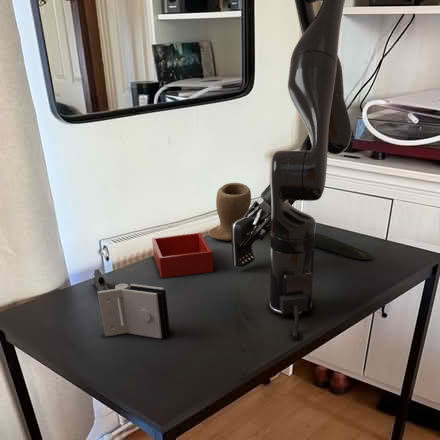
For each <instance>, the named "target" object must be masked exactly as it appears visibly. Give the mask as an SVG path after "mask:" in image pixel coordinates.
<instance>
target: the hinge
mask: <svg viewBox="0 0 440 440" xmlns="http://www.w3.org/2000/svg"><path fill="white" fill-rule="evenodd" d="M114 287H115V288H113V289H109V290H105V291H97V298H98V303H99V308H100V314H101V315H100V316H101V319H102V326H103V331H104V332H103V333H104V337H111V336H118V335H122V334H129V335H130V334H131V335H137V336H143V337H148V338H155V339H160V340H161V339H162V338H163V339H164V338H165V339H166V338H168V336H169V335H171V329H170V319H169V310H168V300H167V299H168V298H167V290H166V289H165V288H164V287H161V286H151V285H144V284H137V283H131V284H127V283H118V284H116V285H115V286H114ZM107 298H109V299H110V301H109V302H107V301H106V299H107ZM111 326H113V327H111Z"/></svg>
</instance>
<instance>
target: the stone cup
mask: <svg viewBox="0 0 440 440" xmlns="http://www.w3.org/2000/svg"><path fill="white" fill-rule="evenodd" d="M251 203H252V192H251V189H250V187H249V186H248V185H246V184H244V183H241V182H228V183H225V184H223V185H222V186H221V187H219V188H218V190H217V191H216V200H215V204H216V205H215V206H216V207H215V208H216V213H217V216H218V219H219V225H217V226H216V227H213V228H212V229H210V230H209V231H208V235H209V236H210V237H211V238H213V239H215V240H220V241H226V242H227V241H232V239H231V227H232V224H233V222H235V221H237V220H238V219H241V218H242V217H243V216H244V215H245V213H246V212H247V211H248V210H249V208H250V207H251V205H252V204H251Z"/></svg>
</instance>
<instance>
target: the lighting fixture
mask: <svg viewBox="0 0 440 440" xmlns="http://www.w3.org/2000/svg"><path fill="white" fill-rule="evenodd" d="M93 276H94V277H93V281H94V286H95V287H96V290H97V292H99V291H105V290H110V289H109V287H108V285H107V283H106V279H105V277H104V275H103V274H102V272H101V270H100V268H99V269H98V268H97V269H94V273H93ZM106 301H107V302H109V301H110V299H109V298H107V299H106Z"/></svg>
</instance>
